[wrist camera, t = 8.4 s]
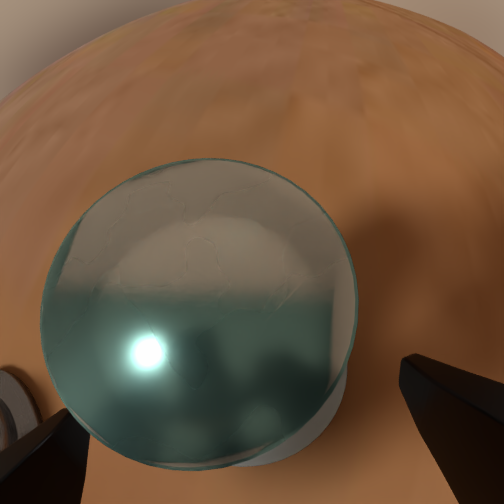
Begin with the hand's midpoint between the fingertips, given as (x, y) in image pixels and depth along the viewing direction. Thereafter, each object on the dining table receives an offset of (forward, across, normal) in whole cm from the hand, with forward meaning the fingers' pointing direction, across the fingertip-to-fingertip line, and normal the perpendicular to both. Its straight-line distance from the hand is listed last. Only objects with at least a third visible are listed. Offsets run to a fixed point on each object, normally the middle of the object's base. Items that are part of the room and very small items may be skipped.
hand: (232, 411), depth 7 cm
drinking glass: (+5, 0, +2) cm, 6 cm away
